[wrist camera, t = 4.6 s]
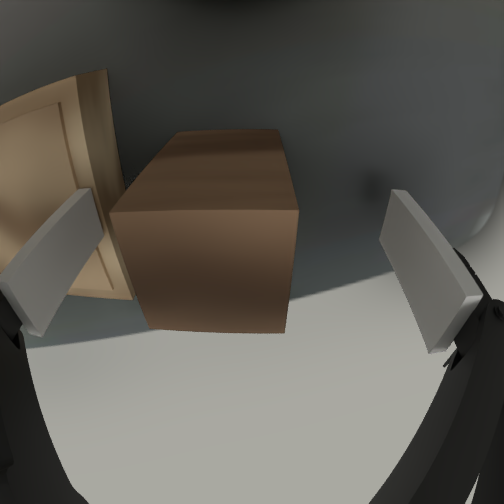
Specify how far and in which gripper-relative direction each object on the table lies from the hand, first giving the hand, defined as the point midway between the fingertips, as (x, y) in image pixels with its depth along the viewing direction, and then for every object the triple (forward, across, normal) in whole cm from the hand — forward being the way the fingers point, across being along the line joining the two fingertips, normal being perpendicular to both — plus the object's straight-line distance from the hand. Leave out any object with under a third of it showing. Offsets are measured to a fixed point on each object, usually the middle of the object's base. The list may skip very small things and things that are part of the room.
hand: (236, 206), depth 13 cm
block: (+3, -1, 0) cm, 3 cm away
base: (+3, -14, 0) cm, 14 cm away
